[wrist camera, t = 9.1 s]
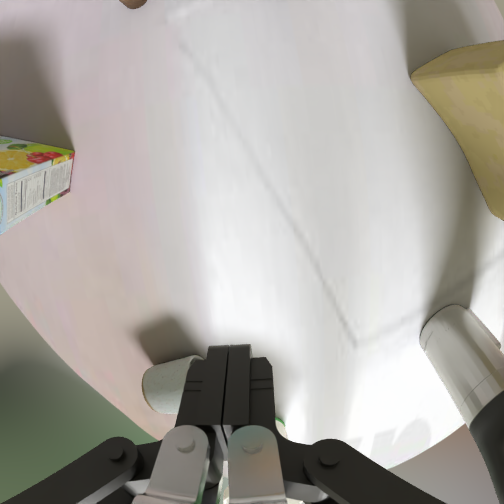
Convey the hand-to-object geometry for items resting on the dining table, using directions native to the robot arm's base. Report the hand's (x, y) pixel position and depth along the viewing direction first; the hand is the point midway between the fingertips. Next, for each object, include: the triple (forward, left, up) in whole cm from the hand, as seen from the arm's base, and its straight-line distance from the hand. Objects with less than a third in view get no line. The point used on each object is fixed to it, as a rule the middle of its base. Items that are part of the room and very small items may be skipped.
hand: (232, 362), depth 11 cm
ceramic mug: (+10, +24, -23) cm, 35 cm away
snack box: (+28, -10, -23) cm, 37 cm away
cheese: (-29, -6, -23) cm, 37 cm away
